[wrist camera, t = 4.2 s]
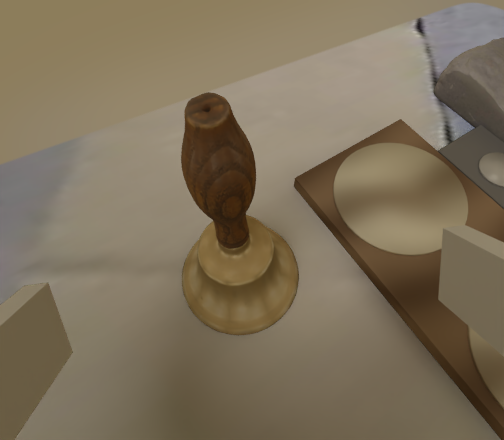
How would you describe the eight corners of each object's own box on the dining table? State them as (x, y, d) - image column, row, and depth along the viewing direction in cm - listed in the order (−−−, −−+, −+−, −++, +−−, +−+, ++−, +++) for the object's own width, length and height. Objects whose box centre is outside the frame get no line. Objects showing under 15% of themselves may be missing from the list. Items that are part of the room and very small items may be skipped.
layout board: (293, 186, 26) (295, 175, 25) (395, 128, 29) (402, 116, 27) (562, 513, 17) (588, 525, 15) (682, 387, 19) (714, 388, 18)
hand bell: (317, 251, 24) (394, 55, 10) (265, 359, 21) (265, 306, 6) (220, 206, 26) (165, -11, 12) (160, 298, 23) (-18, 155, 8)
